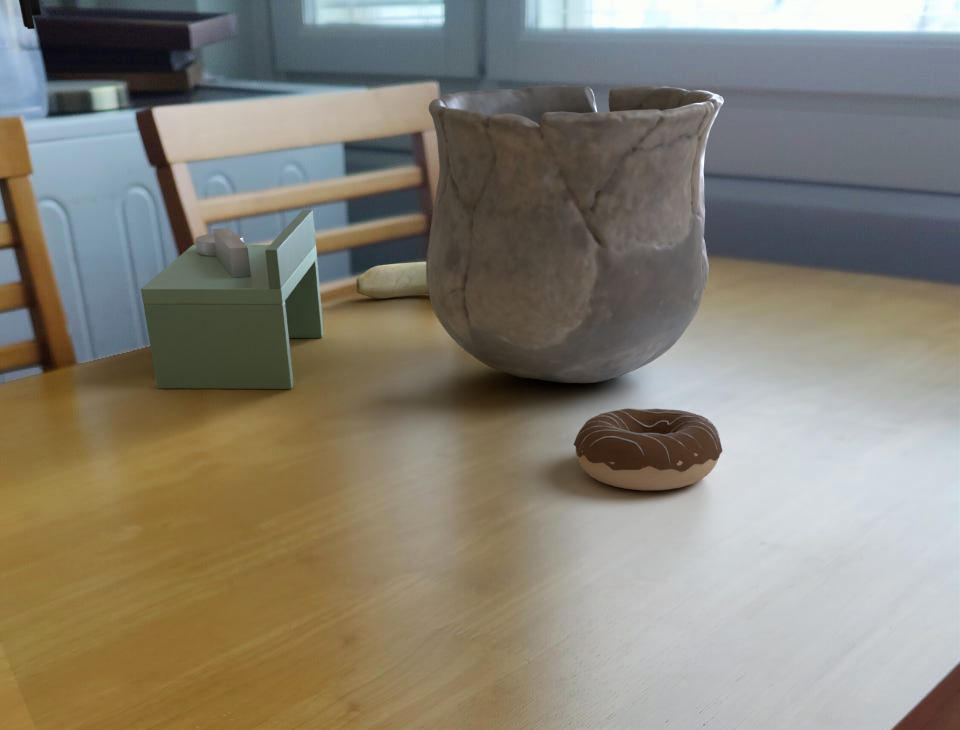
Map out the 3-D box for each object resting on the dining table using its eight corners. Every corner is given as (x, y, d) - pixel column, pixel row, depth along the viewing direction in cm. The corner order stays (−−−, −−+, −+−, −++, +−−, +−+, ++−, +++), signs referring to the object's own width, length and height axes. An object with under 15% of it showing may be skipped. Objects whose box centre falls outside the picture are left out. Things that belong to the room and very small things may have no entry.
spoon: (267, 275, 105) (263, 245, 104) (216, 279, 104) (212, 249, 103) (240, 245, 116) (236, 217, 114) (194, 249, 115) (190, 220, 113)
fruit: (374, 288, 136) (372, 256, 134) (505, 293, 133) (505, 260, 131) (355, 304, 131) (352, 271, 129) (490, 310, 128) (490, 276, 126)
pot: (596, 325, 122) (607, 74, 109) (757, 381, 106) (793, 96, 93) (380, 366, 112) (363, 94, 99) (523, 435, 96) (526, 122, 83)
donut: (622, 510, 83) (626, 453, 81) (547, 463, 91) (548, 409, 88) (748, 483, 87) (755, 427, 85) (666, 440, 95) (670, 388, 92)
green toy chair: (157, 388, 107) (133, 249, 100) (205, 334, 121) (187, 209, 114) (291, 389, 106) (276, 249, 100) (323, 334, 121) (313, 209, 114)
